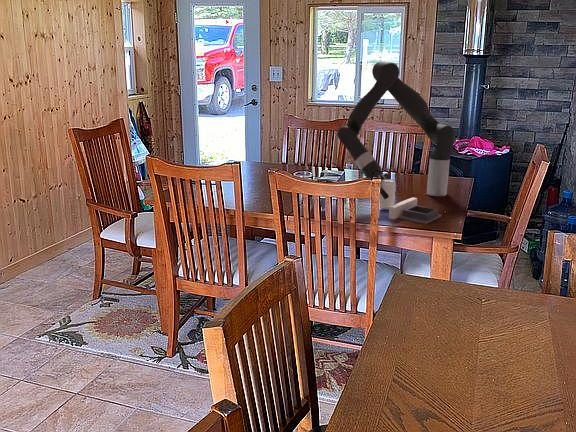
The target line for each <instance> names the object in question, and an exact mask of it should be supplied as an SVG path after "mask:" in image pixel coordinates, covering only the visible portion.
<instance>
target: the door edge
mask: <svg viewBox="0 0 576 432" xmlns="http://www.w3.org/2000/svg"><path fill="white" fill-rule="evenodd" d="M414 205H418V197H410V198H408V199H405V200H402V201H400V202H397V203H394V205H392V206H390V207H389V210H388V219H390V220H396V219H399V216H401V215H403V212H404V210H405V209H407V208H409V207H412V206H414Z"/></svg>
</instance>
